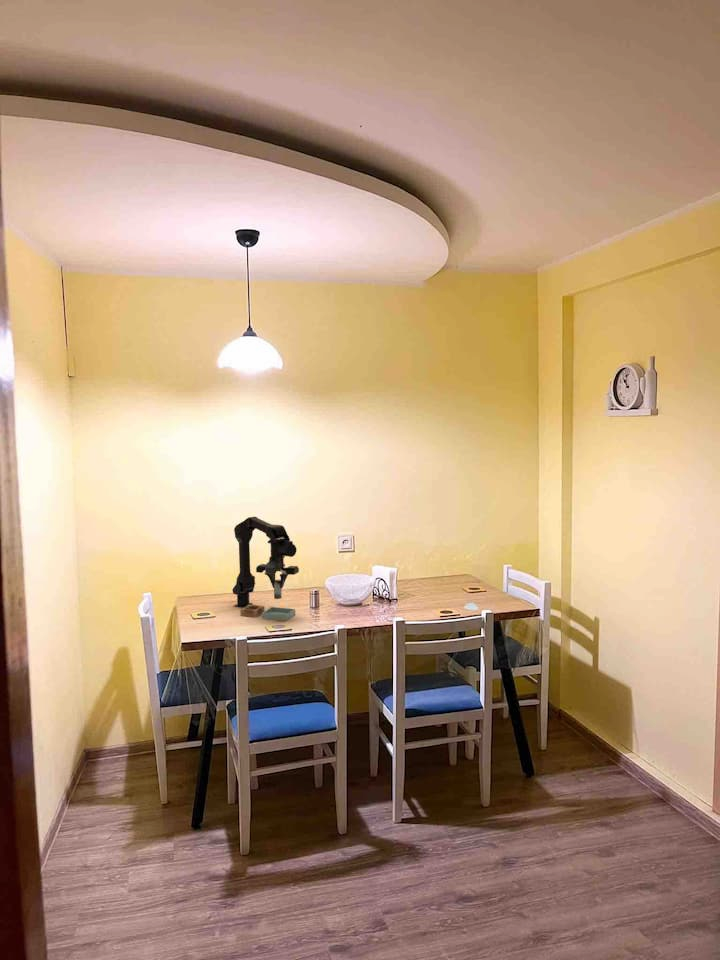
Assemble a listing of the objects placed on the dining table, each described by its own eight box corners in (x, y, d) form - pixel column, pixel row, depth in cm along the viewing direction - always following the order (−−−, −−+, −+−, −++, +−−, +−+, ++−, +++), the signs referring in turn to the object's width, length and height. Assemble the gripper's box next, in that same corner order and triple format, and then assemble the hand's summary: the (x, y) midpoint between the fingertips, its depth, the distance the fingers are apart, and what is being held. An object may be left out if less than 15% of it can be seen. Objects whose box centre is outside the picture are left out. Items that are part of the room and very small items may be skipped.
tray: (271, 612, 304) (271, 606, 304) (295, 614, 300) (295, 609, 300) (261, 618, 294) (261, 612, 294) (286, 620, 291) (286, 615, 290)
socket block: (248, 610, 306) (248, 604, 306) (264, 612, 304) (264, 606, 304) (240, 615, 299) (240, 609, 298) (256, 617, 296) (256, 610, 296)
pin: (276, 596, 298) (275, 579, 298) (282, 597, 297) (282, 579, 297) (272, 598, 295) (272, 581, 295) (279, 599, 294) (279, 581, 294)
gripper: (250, 556, 290) (250, 591, 291) (288, 558, 284) (289, 594, 286) (261, 551, 301) (262, 585, 302) (299, 553, 295) (299, 587, 296)
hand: (277, 588), depth 296 cm, fingers closed on pin, 3 cm apart
